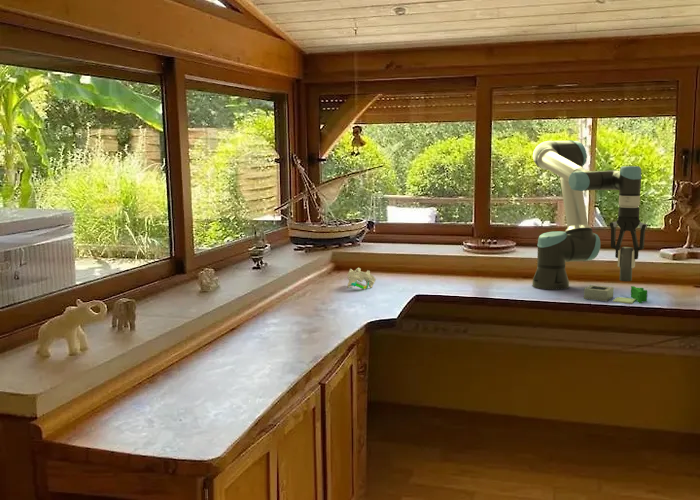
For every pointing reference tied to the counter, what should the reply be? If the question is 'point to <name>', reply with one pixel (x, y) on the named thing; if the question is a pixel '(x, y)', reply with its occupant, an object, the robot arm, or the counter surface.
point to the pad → (624, 300)
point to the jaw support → (360, 278)
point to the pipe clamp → (638, 294)
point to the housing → (598, 293)
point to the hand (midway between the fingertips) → (626, 266)
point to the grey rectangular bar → (626, 264)
